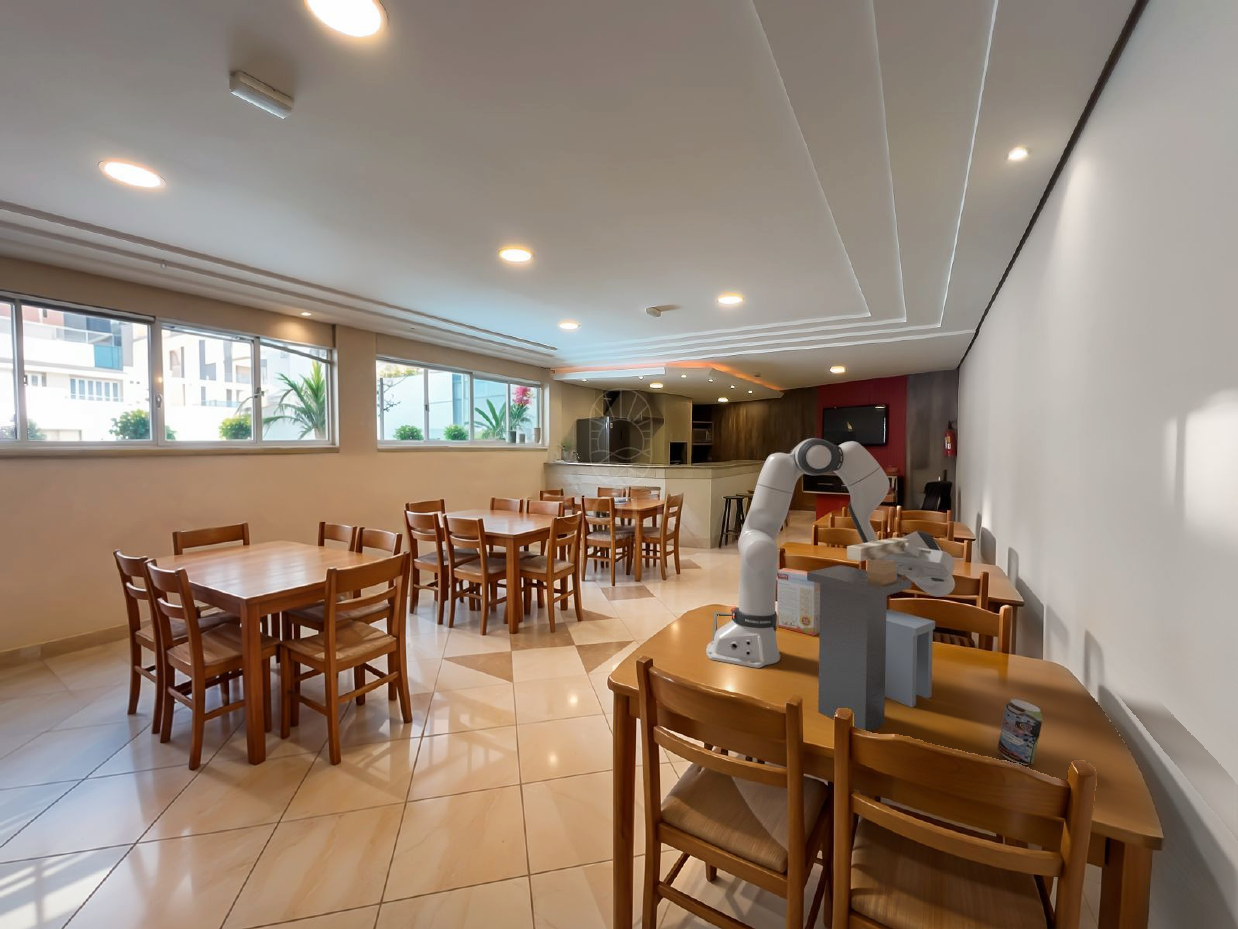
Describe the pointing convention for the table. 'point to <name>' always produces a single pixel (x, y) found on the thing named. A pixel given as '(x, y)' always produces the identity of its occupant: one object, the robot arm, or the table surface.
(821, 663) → the steel pedestal
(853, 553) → the birch slat
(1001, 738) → the beverage can
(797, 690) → the table surface
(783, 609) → the cracker box
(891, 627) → the slate trestle
